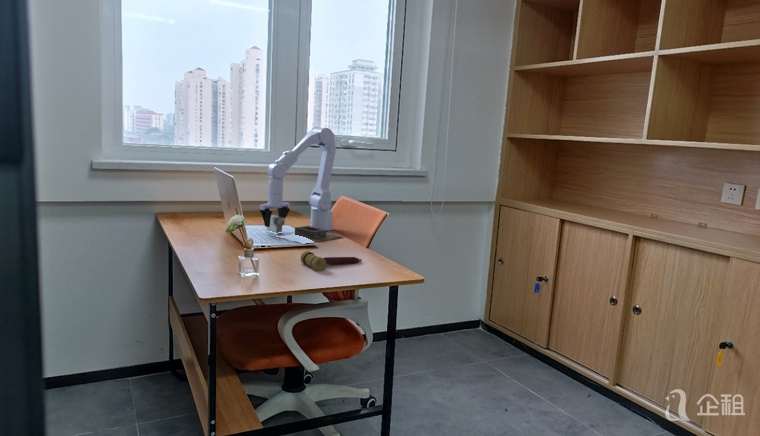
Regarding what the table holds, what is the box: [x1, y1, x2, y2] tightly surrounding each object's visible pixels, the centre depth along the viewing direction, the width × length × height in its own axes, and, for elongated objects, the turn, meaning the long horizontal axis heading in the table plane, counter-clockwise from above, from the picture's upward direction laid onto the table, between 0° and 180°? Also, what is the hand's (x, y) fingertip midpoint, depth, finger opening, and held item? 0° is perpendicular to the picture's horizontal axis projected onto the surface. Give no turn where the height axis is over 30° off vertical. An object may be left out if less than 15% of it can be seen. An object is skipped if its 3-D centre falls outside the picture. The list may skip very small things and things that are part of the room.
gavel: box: [300, 250, 363, 272], centre depth 181 cm, size 21×5×10 cm
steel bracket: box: [266, 214, 286, 233], centre depth 224 cm, size 3×8×7 cm, turn 52°
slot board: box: [294, 225, 344, 243], centre depth 220 cm, size 22×16×4 cm
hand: (274, 225), depth 224 cm, fingers open, 7 cm apart
